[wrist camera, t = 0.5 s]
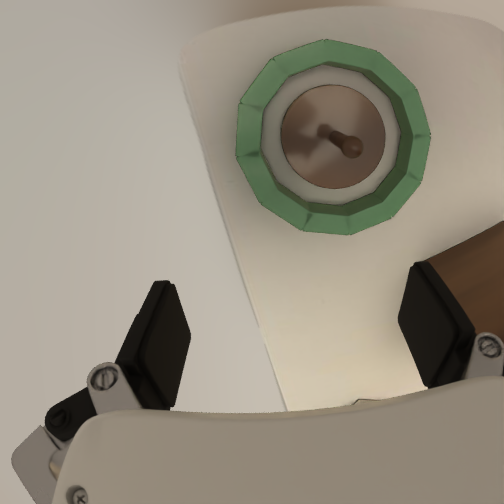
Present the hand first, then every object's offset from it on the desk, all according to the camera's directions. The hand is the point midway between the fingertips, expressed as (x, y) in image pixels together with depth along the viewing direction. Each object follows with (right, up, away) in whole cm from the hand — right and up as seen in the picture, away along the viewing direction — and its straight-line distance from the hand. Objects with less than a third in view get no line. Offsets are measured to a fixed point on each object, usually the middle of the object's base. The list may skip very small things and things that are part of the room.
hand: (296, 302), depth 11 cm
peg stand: (+5, +11, +11) cm, 17 cm away
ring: (+5, +11, +11) cm, 17 cm away
